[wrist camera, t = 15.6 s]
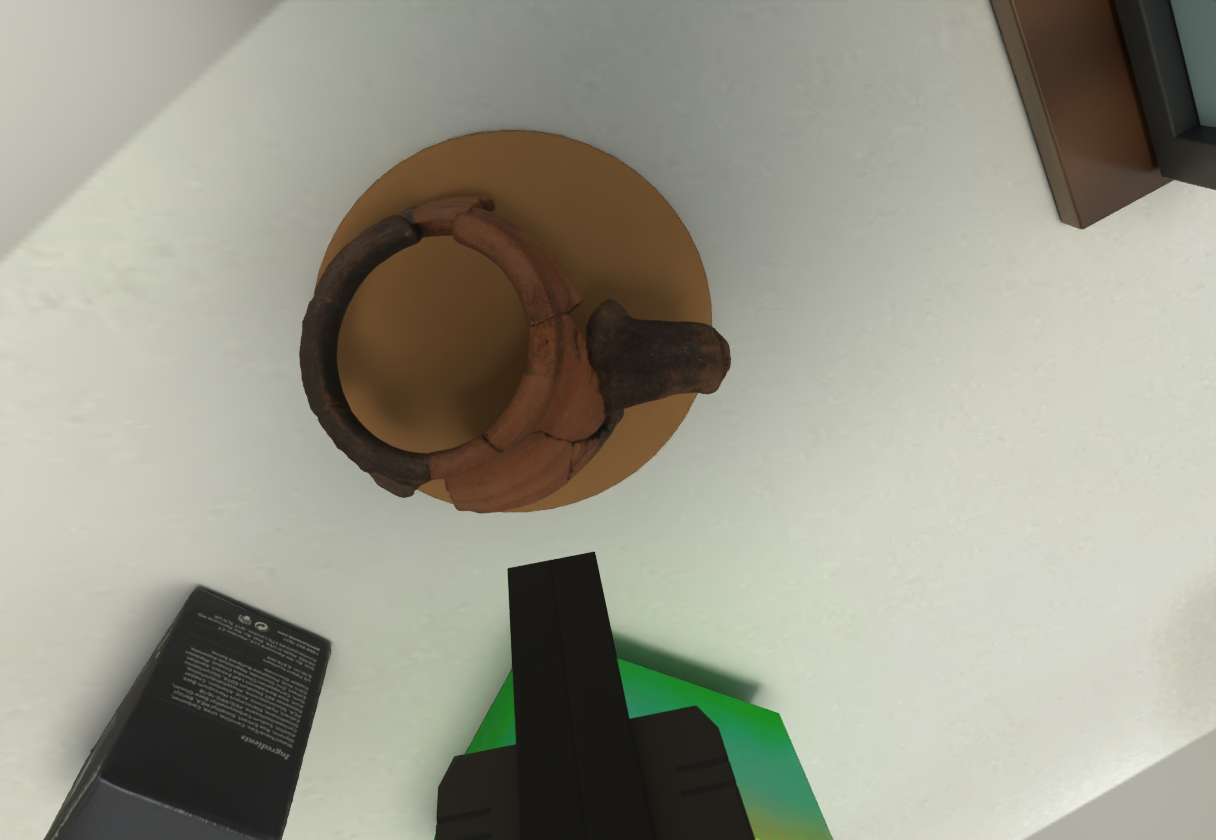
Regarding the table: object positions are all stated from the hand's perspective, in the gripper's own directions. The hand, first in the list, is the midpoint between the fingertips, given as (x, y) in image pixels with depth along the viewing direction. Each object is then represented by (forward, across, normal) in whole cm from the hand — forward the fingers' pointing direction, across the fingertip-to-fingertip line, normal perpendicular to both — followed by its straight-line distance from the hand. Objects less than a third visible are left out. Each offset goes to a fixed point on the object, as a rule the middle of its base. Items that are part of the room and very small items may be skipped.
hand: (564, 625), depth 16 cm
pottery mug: (+16, 0, 0) cm, 16 cm away
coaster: (+16, 0, 0) cm, 16 cm away
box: (+16, -14, -12) cm, 25 cm away
